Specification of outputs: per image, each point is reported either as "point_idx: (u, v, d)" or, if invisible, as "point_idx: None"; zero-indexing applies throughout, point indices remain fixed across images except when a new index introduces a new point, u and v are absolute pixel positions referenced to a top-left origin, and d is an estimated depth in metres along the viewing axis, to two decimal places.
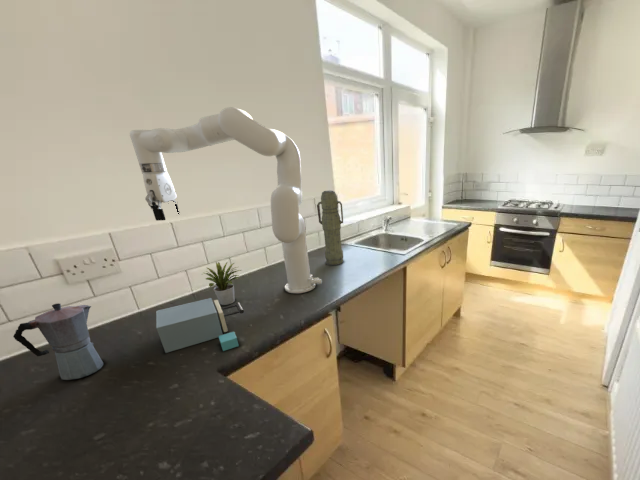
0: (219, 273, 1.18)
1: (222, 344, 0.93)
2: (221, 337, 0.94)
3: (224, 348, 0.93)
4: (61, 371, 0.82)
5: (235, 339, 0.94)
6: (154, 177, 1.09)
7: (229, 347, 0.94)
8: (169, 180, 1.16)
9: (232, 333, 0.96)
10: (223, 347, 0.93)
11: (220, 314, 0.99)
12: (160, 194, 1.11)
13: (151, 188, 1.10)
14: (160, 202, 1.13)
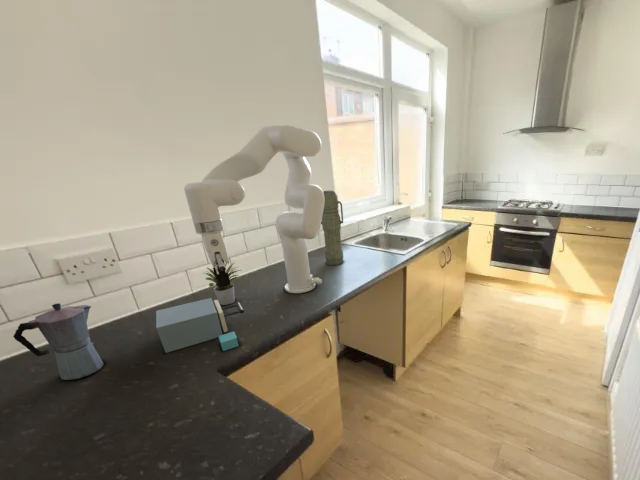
0: None
1: (222, 344, 0.93)
2: (221, 337, 0.94)
3: (224, 348, 0.93)
4: (61, 371, 0.82)
5: (235, 339, 0.94)
6: (220, 236, 0.93)
7: (229, 347, 0.94)
8: None
9: (232, 333, 0.96)
10: (223, 347, 0.93)
11: (220, 314, 0.99)
12: (227, 255, 0.95)
13: (217, 249, 0.93)
14: (224, 265, 0.97)
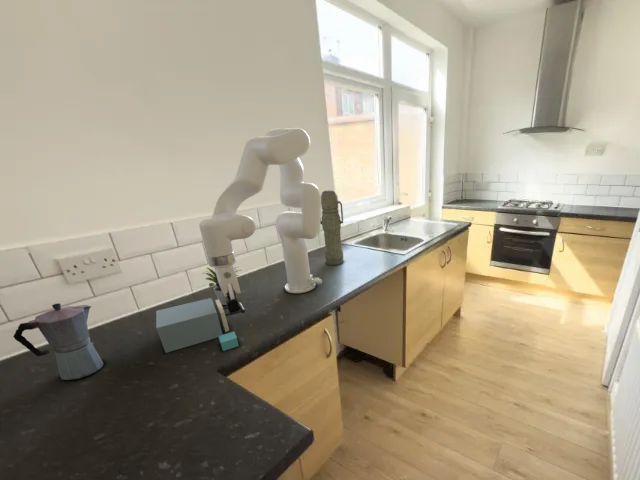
0: None
1: (222, 344, 0.93)
2: (221, 337, 0.94)
3: (224, 348, 0.93)
4: (61, 371, 0.82)
5: (235, 339, 0.94)
6: (232, 269, 0.98)
7: (229, 347, 0.94)
8: None
9: (232, 333, 0.96)
10: (223, 347, 0.93)
11: (222, 314, 0.99)
12: (238, 286, 1.00)
13: (229, 281, 0.98)
14: None
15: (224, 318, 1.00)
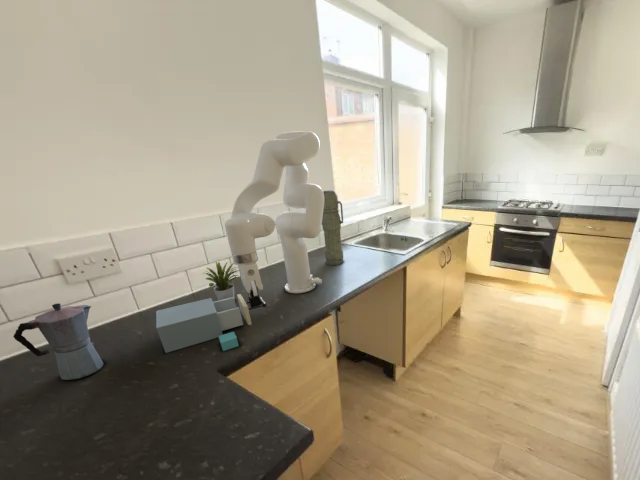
0: (219, 273, 1.18)
1: (222, 344, 0.93)
2: (221, 337, 0.94)
3: (224, 348, 0.93)
4: (61, 371, 0.82)
5: (235, 339, 0.94)
6: (256, 266, 1.01)
7: (229, 347, 0.94)
8: None
9: (232, 333, 0.96)
10: (223, 347, 0.93)
11: (245, 307, 1.02)
12: (261, 283, 1.04)
13: (253, 279, 1.01)
14: (257, 290, 1.07)
15: (247, 312, 1.03)
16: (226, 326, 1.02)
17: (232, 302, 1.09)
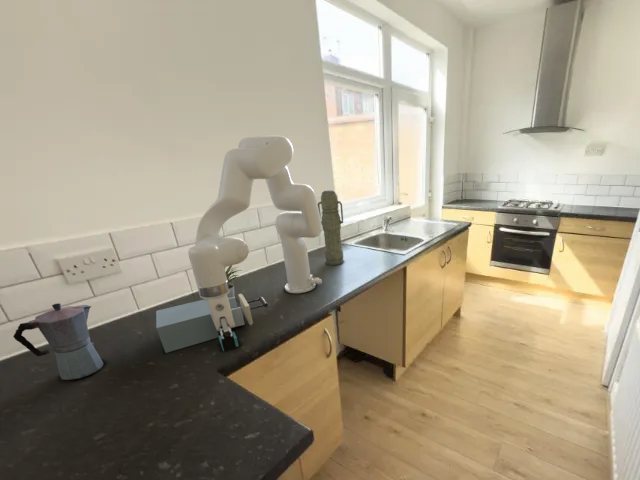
0: None
1: None
2: (221, 337, 0.94)
3: None
4: (61, 371, 0.82)
5: (235, 339, 0.94)
6: (226, 300, 0.87)
7: None
8: None
9: (232, 333, 0.96)
10: None
11: (246, 307, 1.03)
12: (232, 319, 0.89)
13: (222, 314, 0.87)
14: None
15: (249, 311, 1.04)
16: None
17: (233, 302, 1.10)
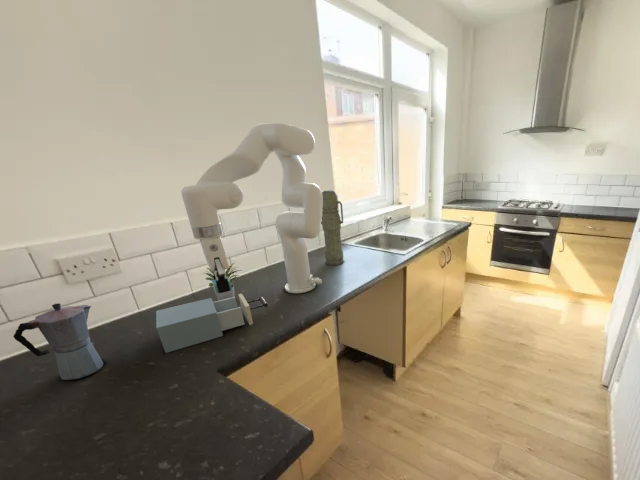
0: None
1: (215, 286, 0.95)
2: (215, 281, 0.96)
3: (217, 291, 0.95)
4: (61, 371, 0.82)
5: (228, 282, 0.96)
6: (220, 241, 0.89)
7: None
8: None
9: None
10: (216, 289, 0.95)
11: (246, 307, 1.03)
12: (226, 260, 0.92)
13: (216, 255, 0.89)
14: None
15: (249, 311, 1.04)
16: (228, 326, 1.02)
17: (233, 302, 1.10)
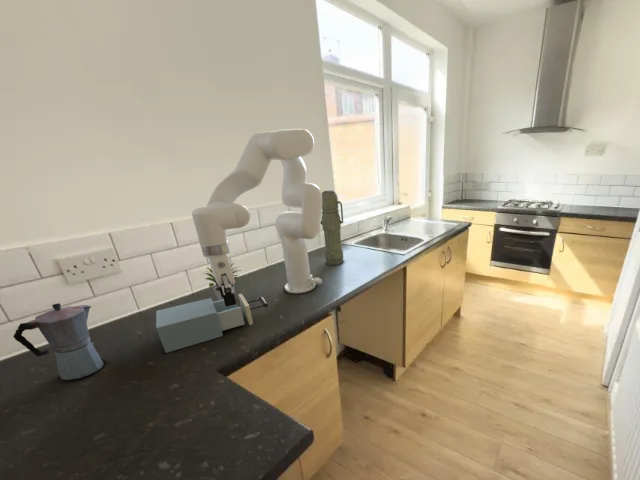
0: None
1: None
2: None
3: None
4: (61, 371, 0.82)
5: None
6: (227, 258, 0.96)
7: None
8: None
9: None
10: None
11: (246, 307, 1.03)
12: (233, 276, 0.98)
13: (223, 271, 0.96)
14: (230, 285, 1.00)
15: (249, 311, 1.04)
16: (228, 326, 1.02)
17: None
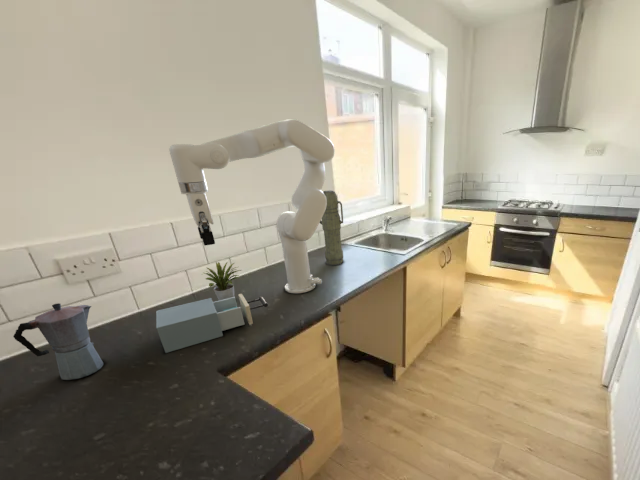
0: (219, 273, 1.18)
1: None
2: None
3: None
4: (61, 371, 0.82)
5: None
6: (204, 196, 0.97)
7: None
8: None
9: None
10: None
11: (246, 307, 1.03)
12: (211, 215, 1.00)
13: (201, 209, 0.97)
14: None
15: (249, 311, 1.04)
16: (228, 326, 1.02)
17: (233, 302, 1.10)
